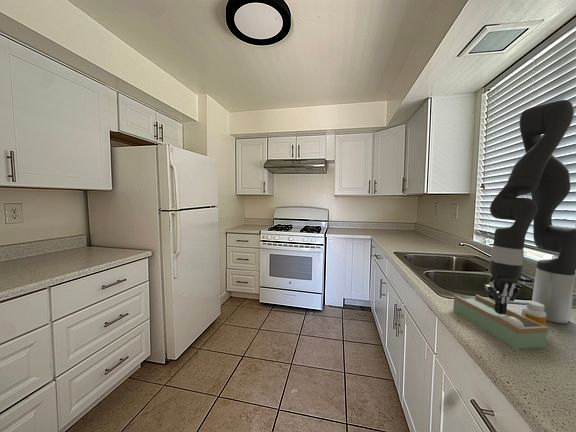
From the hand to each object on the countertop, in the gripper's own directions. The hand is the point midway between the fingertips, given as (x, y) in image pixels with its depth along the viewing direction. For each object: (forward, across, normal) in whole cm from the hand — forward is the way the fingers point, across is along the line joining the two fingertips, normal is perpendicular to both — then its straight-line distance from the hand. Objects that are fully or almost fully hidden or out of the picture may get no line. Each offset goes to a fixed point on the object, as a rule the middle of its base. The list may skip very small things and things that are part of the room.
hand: (499, 313), depth 77 cm
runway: (+6, 0, -2) cm, 6 cm away
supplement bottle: (+6, -9, +3) cm, 11 cm away
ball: (+2, 0, +4) cm, 5 cm away
